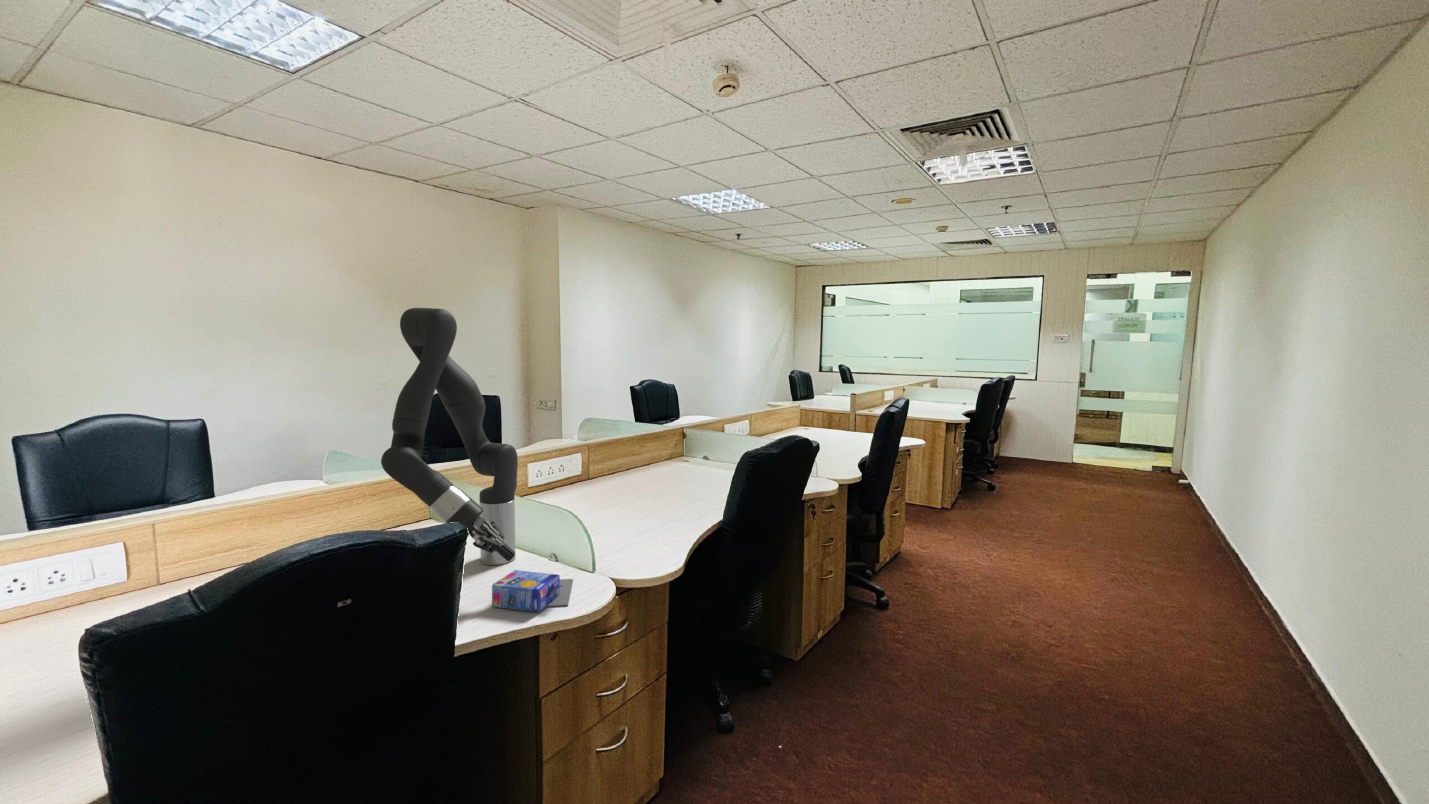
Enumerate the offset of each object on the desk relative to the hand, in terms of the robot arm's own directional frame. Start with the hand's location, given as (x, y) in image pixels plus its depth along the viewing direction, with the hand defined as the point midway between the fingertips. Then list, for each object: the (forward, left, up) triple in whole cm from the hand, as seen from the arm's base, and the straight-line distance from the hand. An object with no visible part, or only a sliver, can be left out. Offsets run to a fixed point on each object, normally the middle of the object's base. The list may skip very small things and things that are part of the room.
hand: (512, 557), depth 134 cm
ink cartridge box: (+1, -2, -7) cm, 7 cm away
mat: (-1, +7, -10) cm, 12 cm away
